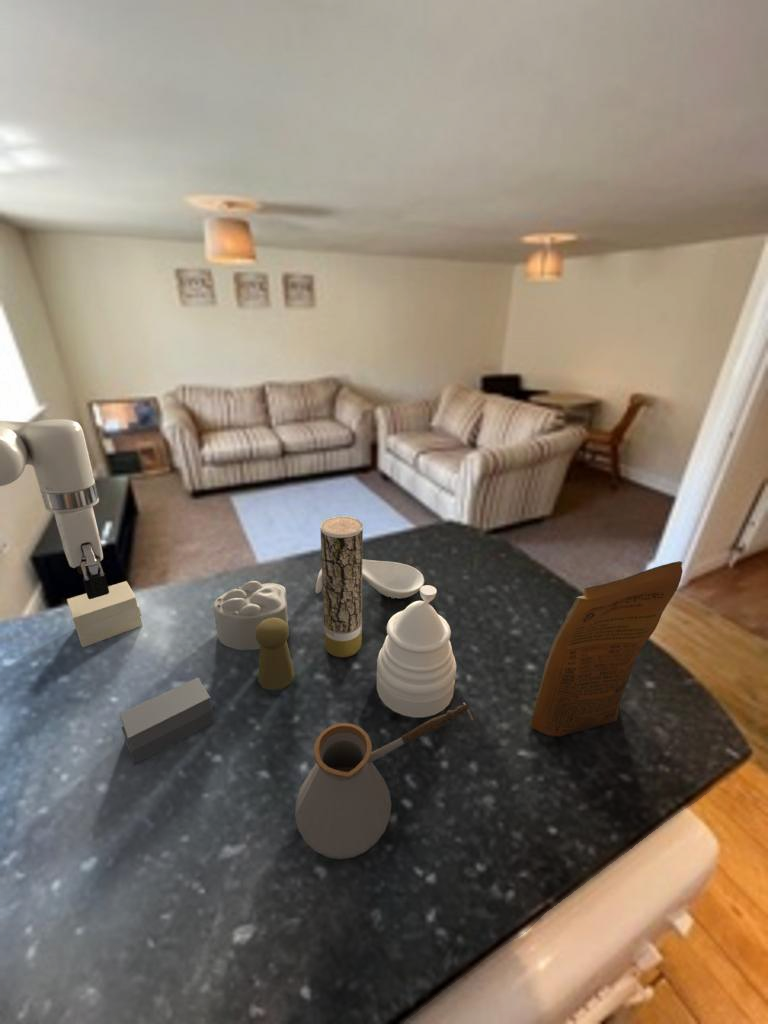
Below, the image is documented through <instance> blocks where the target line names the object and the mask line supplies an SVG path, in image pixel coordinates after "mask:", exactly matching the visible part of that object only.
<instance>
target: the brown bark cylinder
mask: <svg viewBox="0 0 768 1024" xmlns="http://www.w3.org/2000/svg"><path fill="white" fill-rule="evenodd" d="M319 529H320V555H321V569H322V610H323V611H322V612H323V613H322V614H323V632H324V633H323V635H324V636H323V637H324V648H325V650H326V651H327V653H328V654H330V655H331V656H332V657H335V658H348V657H349V658H350V657H351V656H354V655H356V654H357V653H358V652H359V650H361V647H362V642H363V641H362V633H363V632H362V631H363V577H362V559H363V548H364V547H363V545H364V544H363V541H364V540H363V537H364V535H363V534H364V533H363V532H364V531H363V530H364V527H363V522H362V521H361V520H360V519H358V518H355V517H354V516H353V517H352V516H346V515H338V516H332V517H329V518H326V519H324V520H323V521H322V522H321V523H320V527H319Z"/></svg>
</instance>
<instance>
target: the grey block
mask: <svg viewBox="0 0 768 1024" xmlns="http://www.w3.org/2000/svg"><path fill="white" fill-rule="evenodd" d="M119 718H120V722H121V724H122V726H121V730H122V733H123V737H124V740H125V743H126V746H127V748H128V751H129V754H130V757H131V760H132V763H133V765H137V764H138V763H140V762H143V760H146V759H148V758H149V757H152V756H153V755H156V754H157V753H159V752H161V751H163V750H164V749H167V748H168V747H170V746H172V745H174V744H176V743H178V742H180V741H181V740H183V739H185V738H187V737H189V736H192V734H195V733H196V732H199V731H201V730H202V729H204V728H207V727H208V726H210V725H211V724H214V723H215V716H214V711H213V705H212V700H211V696H210V695H209V693H208V692H207V689H206V688H205V686H204V685H203V683H202V681H201V679H200V678H199V677H195V678H193V679H191V680H189V681H187V682H185V683H182V684H180V685H178V686H176V687H174V688H171V689H169V690H167V691H165V692H162V693H160V694H159V695H156V696H154V697H152V698H150V699H147V700H145V701H143V702H141V703H139V704H137V705H134V706H133V707H130V708H129V709H126V710H124V711H122V712H119Z"/></svg>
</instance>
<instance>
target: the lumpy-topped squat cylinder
mask: <svg viewBox="0 0 768 1024" xmlns="http://www.w3.org/2000/svg"><path fill="white" fill-rule="evenodd" d="M287 601H288V600H287V589H286V587H284V585H281V584H279V583H272V582H271V583H260V582H259V581H256V580H251V581H247V582H246V583H244V584H243V585H242V586H238V587H236V588H234V589H231V590H229V591H226V592H225V593H223V594H222V595H220V596H219V597H218V598H216V599H215V601H214V602H213V607H212V608H213V614H214V620H215V627H216V632H217V633H216V634H217V639H218V641H219V642H220V643H221V644H222V645H224V646H225V647H228V648H231V649H234V650H239V651H254V650H260V645H259V643H258V642H257V640H256V629H257V626H258V625H259V624H260V623H261V622H262V621H263V620H265V619H268V618H280V619H282V620H284V621H285V622H286V624H287V625H288V626H289V615H288V602H287ZM289 635H290V634H289ZM289 635H288V637H289Z"/></svg>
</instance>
